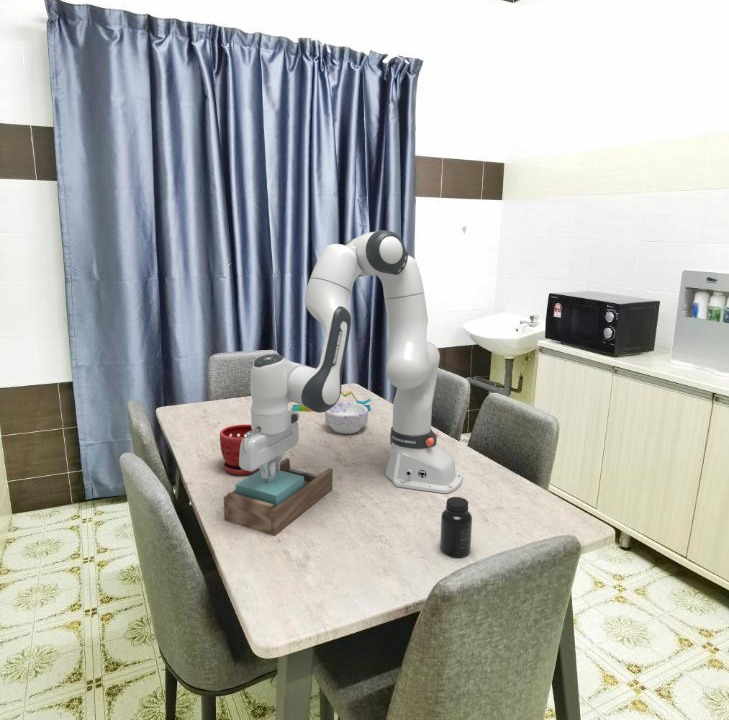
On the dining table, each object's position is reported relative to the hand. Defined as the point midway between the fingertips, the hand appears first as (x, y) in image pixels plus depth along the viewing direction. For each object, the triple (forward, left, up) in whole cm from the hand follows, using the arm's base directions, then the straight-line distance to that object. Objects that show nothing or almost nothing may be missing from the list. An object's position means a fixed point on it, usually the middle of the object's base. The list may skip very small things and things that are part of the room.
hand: (270, 474), depth 141 cm
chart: (+27, -78, -11) cm, 83 cm away
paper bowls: (+12, -62, -11) cm, 64 cm away
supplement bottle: (-46, -6, -10) cm, 48 cm away
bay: (0, -5, -10) cm, 11 cm away
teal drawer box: (0, 0, -9) cm, 9 cm away
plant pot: (+23, -18, -10) cm, 30 cm away
